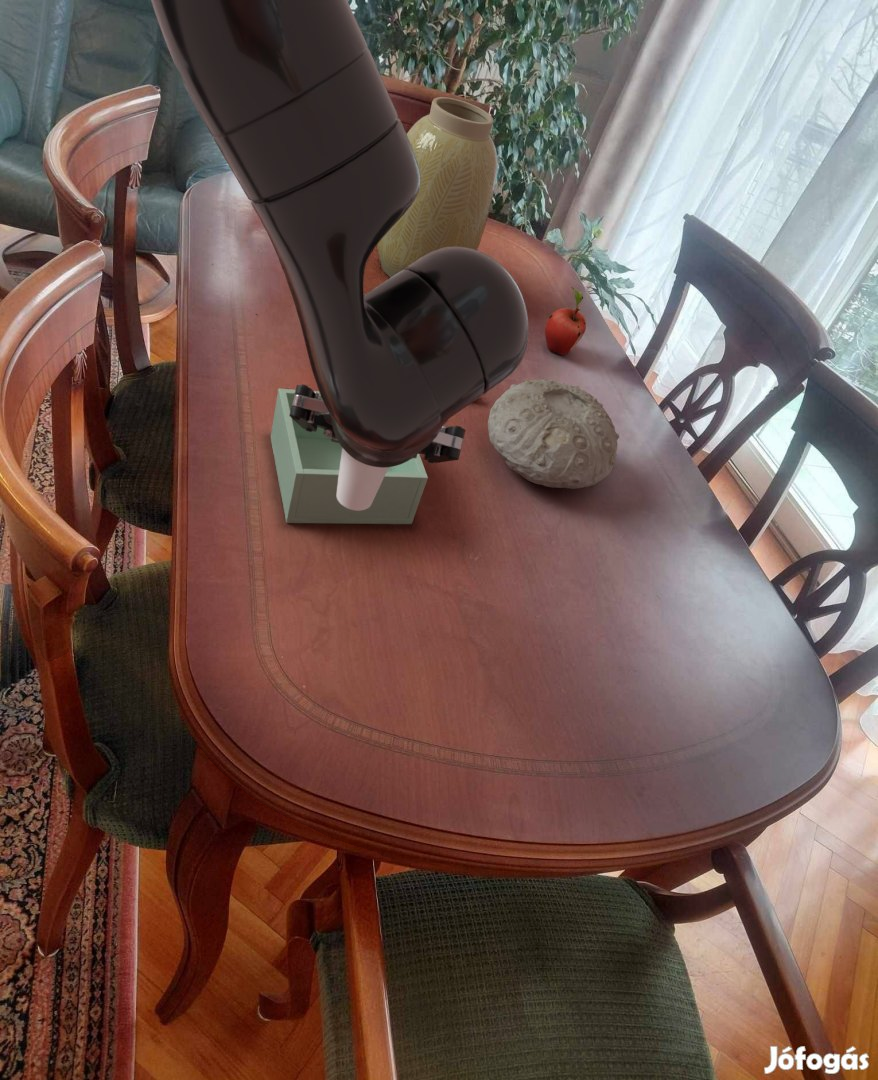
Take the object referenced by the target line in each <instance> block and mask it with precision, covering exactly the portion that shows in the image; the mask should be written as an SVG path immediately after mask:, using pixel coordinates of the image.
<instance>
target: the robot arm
mask: <svg viewBox="0 0 878 1080" xmlns="http://www.w3.org/2000/svg"><path fill="white" fill-rule="evenodd" d="M150 3H151V5H152V7H153V8H152V9H153V11H154V14H155V17H156V20H157V22H158V25H159V29H160V31H161V33H162V37H163V39H164V41H165V44H166V47H167V49H168V51H169V54H170V57H171V59H172V61H173V63H174V65H175V68H176V70H177V73H178V74H179V77H180V79H181V82H182V83H183V85H184V87H185V89H186V91H187V93H188V95H189V98H190V99H191V101H192V103H193V105H194V106H195V108H196V110H197V113H198V114H199V116H200V118H201V119H202V121H203V123H204V125H205V127H206V129H207V130H208V131H209V134H210V135H211V137H213V141H214V142H215V144H216V146H217V147H218V149H219V151H220V153H221V155H222V157H223V158H224V160H225V162H226V163H227V165H228V166H229V168H230V170H231V172H232V174H233V175H234V177H235V179H236V180H237V182H238V183H239V185H240V187H241V189H242V190H243V191H242V192H244V194H245V196H246V197H247V199H248V200H249V201H251V203H250V204H251V206H252V208H253V210H254V211H255V213H256V214H257V217H258V219H259V220H260V222H261V224H262V226H263V227H264V230H265V232H266V234H267V236H268V237H269V240H270V242H271V244H272V247H273V249H274V251H275V253H276V256H277V258H278V260H279V263H280V266H281V268H282V271H283V274H284V277H285V280H286V283H287V285H288V288H289V292H290V294H291V297H292V300H293V303H294V306H295V310H296V313H297V317H298V320H299V323H300V327H301V331H302V336H303V340H304V344H305V348H306V352H307V355H308V360H309V363H310V368H311V371H312V375H313V377H314V380H315V383H316V386H317V389H318V391H319V392H320V394H319V393H317V392H314V391H315V390H313V388H311V387H309V386H308V385H306V384H296V386H295V390H296V391H295V395H294V398H293V402H292V407H291V411H290V415H289V416H290V417H291V418H292V419H293V420H294V421H295V422H296V423H298V424H299V425H300V426H301V427H302V428H303V429H306V431H308V432H312V431H314V432H316V431H317V427H319V428H322V429H324V433H323V435H325V436H327V437H328V438H332V439H331V441H332V442H336V443H340V445H341V446H342V448H343V449H344V450H345V451H346V452H347V453H348V454H349V455H350V456H351V457H353V458H354V459H356V460H357V461H359V462H361V463H363V464H366V465H369V466H373V467H382V468H384V467H393V466H397V465H400V464H403V463H405V462H407V461H409V460H410V459H412V458H417V454H419V455H424V458H423V460H424V461H426V462H427V463H429V464H439V463H445V462H454V461H458V460H460V455H461V452H462V448H463V443H464V439H465V434H466V429H464V428H462V426H459V425H455V426H454V425H451V426H448V427H447V426H445V425H446V423H447V422H448V421H449V419H451V418H452V417H453V416H455V415H457V414H458V413H460V412H461V411H462V410H464V409H465V408H467V407H468V406H469V405H471V404H473V403H474V402H475V401H476V400H479V398H481V397H482V396H483V395H486V394H487V393H488V392H489V391H491V390H493V389H494V388H495V387H497V386H498V385H500V384H501V383H502V382H504V381H506V379H508V378H509V377H510V376H511V375H512V374H514V373H515V371H516V370H517V369H518V368H519V366H520V364H521V363H522V361H523V359H524V356H525V353H526V351H527V348H528V343H529V332H530V331H529V330H530V329H529V328H530V327H529V325H530V324H529V316H528V310H527V306H526V302H525V300H524V297H523V294H522V292H521V290H520V288H519V286H518V284H517V282H516V281H515V279H514V278H513V276H512V275H511V274H510V272H509V271H508V270H507V268H505V267H504V266H503V265H502V264H501V263H500V262H498V261H497V260H496V259H494V258H493V257H492V256H490V255H489V254H486V253H484V252H482V251H481V250H479V249H478V250H475V249H472V248H468V247H460V246H451V247H444V248H440V249H437V250H435V251H432V252H430V253H428V254H426V255H424V256H423V257H421V258H419V259H418V260H416V261H415V262H413V263H412V264H410V265H409V266H407V267H406V268H405V269H404V270H402V271H400V272H399V273H397V274H396V275H394V276H392V277H391V278H390V277H389V278H388V279H386V280H385V281H383V282H382V283H380V284H378V285H377V286H376V287H374V288H373V289H371V290H369V291H368V292H366V293H364V277H365V271H366V265H367V263H368V260H369V258H370V257H371V255H372V253H373V251H374V250H375V248H377V244H378V243H379V242H380V240H381V239H382V238H383V237H384V236H385V234H386V233H387V232H388V231H389V230H390V229H391V228H392V227H393V225H394V224H395V223H396V222H397V221H398V220H399V219H400V218H401V217H402V216H403V215H404V214H405V212H406V211H407V210H408V209H409V207H410V206H411V205H412V203H413V202H414V200H415V198H416V196H417V194H418V192H419V188H420V181H421V178H420V170H419V166H418V163H417V160H416V157H415V154H414V151H413V149H412V146H411V144H410V141H409V139H408V137H407V132H406V130H405V128H404V125H403V123H402V121H401V119H400V118H399V114H398V111H397V109H396V108H395V107H396V106H395V104H394V103H393V100H392V98H391V95H390V94H389V91H388V89H387V87H386V84H385V82H384V80H383V77H382V75H381V73H380V70H379V68H378V66H377V64H376V61H375V59H374V57H373V54H372V52H371V50H370V48H369V47H368V44H367V41H366V39H365V37H364V35H363V32H362V30H361V28H360V26H359V24H358V22H357V21H358V20H357V19H356V17H355V15H354V13H353V11H352V7H351V6H350V4H349V1H348V0H150ZM320 395H321V397H322V400H320V399H319V396H320Z"/></svg>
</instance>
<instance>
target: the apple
mask: <svg viewBox="0 0 878 1080" xmlns="http://www.w3.org/2000/svg"><path fill="white" fill-rule="evenodd" d="M570 288H571V289H572V290H573V291H574V299H575V304H576V307H575V309H573V308H570V307H563V308H559V309H557V310H555V311H553V312H552V314H550V316H549V318H548V319H547V321H546V324H545V327H544V328H545V329H544V336H545V337H544V338H545V343H546V348H547V349H548V350H549V351H550V352H553V353H555V354H558V355H561V356H564V355H567V354H569V353H570V352H571V351H572V350H573V349H574V348H575V347H576V346H577V344H578V343H579V341H580V340H581V339H582V338H583V336H584V334H585V333H586V329H587V323H586V322H587V321H586V317H585V316H584V314H582V313H581V312H580V310H581V306H580V305H579V304H580V303H581V302H582V301H583V299H584V296H583V294H582V292H581V291H578V290H577V289H576V288H575V287H573V286H570Z"/></svg>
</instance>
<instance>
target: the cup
mask: <svg viewBox="0 0 878 1080" xmlns="http://www.w3.org/2000/svg"><path fill="white" fill-rule="evenodd" d="M388 468H389V467H384V468H382V467H373V466H369V465H366V464H363V463H361V462H359V461H357V460H356V459H354V458H353V457H351V456H350V455H349V454H348V453H347V452H346V451H345V450H344V449H343V448H342V453H341V461H340V468H339V476H338V485H337V494H336V497H337V500H338V501H339V503H340V504H341V505H343V506H344V507H346V508H348V509H351V510H356V511H361V510H365V509H367V508H369V507H370V506H371V504H372V502H373V500H374V498H375V496H376V493H377V492H378V489H379V487H380V485H381V483H382V481H383V478H384V476H385V474H386V472H387V470H388Z"/></svg>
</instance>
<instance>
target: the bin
mask: <svg viewBox="0 0 878 1080" xmlns="http://www.w3.org/2000/svg"><path fill="white" fill-rule="evenodd" d="M295 391H296V389H290V388H280V387H279V388H278V389H277V395H276V401H275V408H274V413H273V419H272V420H273V421H272V426H271V431H270V442H271V446H272V452H273V458H274V463H275V469H276V475H277V479H278V486H279V491H280V497H281V502H282V507H283V512H284V517H285V523H286V524H348V525H350V524H351V525H352V524H353V525H354V524H357V525H361V524H362V525H363V524H364V525H412V524H413V522H414V518H415V516H416V513H417V510H418V507H419V504H420V502H421V500H422V497H423V493H424V490H425V488H426V485H427V482H428V479H429V477H428V474H427V471H426V469H425V466H424V463H423V460H422V458H421V454H417V458H412V459H410V460H409V461H407V462H405V463H403V464H400V465H397V466H393V467H389V468H388V470H387V472H386V474H385V476H384V478H383V481H382V483H381V485H380V487H379V489H378V492H377V493H376V496H375V498H374V500H373V502H372V504H371V506H370V507H369V508H367V509H365V510H361V511H356V510H351V509H348V508H346V507H344V506H343V505H341V504H340V503H339V501H338V500H337V497H336V494H337V485H338V476H339V468H340V461H341V453H342V446H341V445H340V443H336V442H332V441H331V439H332V438H328V437H327V436H325V435H323V433H324V429H322V428H319V427H317V431H316V432H314V431H312V432H308V431H306V429H303V428H302V427H301V426H300V425H299V424H298V423H296V422H295V421H294V420H293V419H292V418H291V417H290V416H289V415H290V411H291V407H292V402H293V398H294V395H295ZM313 391H314V392H317V393H319V394H320V392H319V390H313ZM319 399H320V400H322V397H321V395H320V396H319Z"/></svg>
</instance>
